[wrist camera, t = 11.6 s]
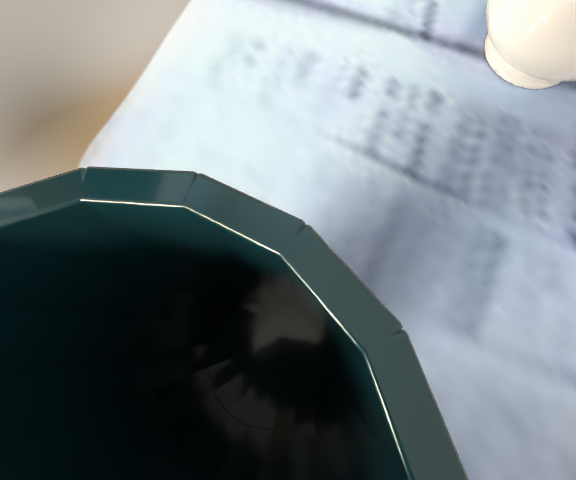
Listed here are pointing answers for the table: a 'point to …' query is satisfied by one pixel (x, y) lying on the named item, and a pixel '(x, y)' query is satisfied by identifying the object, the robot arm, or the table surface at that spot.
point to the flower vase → (532, 41)
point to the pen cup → (197, 342)
